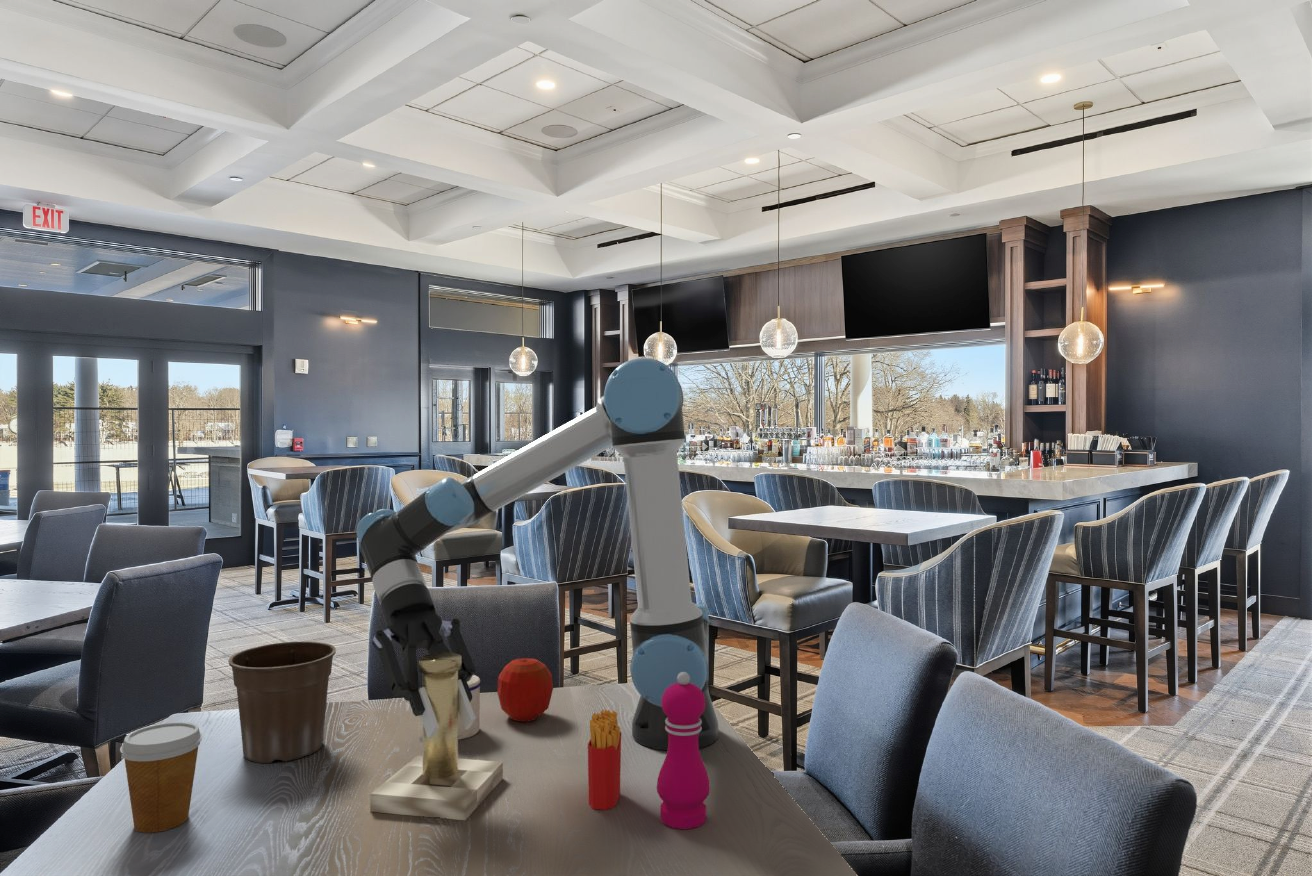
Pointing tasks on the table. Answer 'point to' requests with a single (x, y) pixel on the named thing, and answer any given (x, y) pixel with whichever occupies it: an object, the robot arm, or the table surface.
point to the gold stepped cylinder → (441, 713)
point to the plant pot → (282, 698)
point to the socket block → (437, 790)
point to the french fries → (604, 760)
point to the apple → (525, 689)
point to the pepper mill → (683, 757)
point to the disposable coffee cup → (161, 773)
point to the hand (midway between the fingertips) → (452, 728)
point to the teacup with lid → (475, 704)
